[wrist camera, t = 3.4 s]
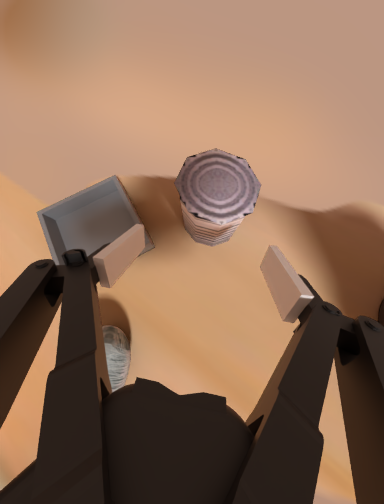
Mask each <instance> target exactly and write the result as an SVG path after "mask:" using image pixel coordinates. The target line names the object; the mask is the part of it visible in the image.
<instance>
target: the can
mask: <svg viewBox="0 0 384 504" xmlns="http://www.w3.org/2000/svg"><path fill="white" fill-rule="evenodd" d="M174 184H175V186H176V188H177V190H178V192H179V194H180V202H181V208H182V214H183V219H184V225H185V230H186V231H187V232H188V233H189V235H190V236H191V237H192V238H193V240H194V241H195V242H197V243H201V244H205V245H208V246H215V245H218V244H221V243H224V242H227V241H228V240H229V239H230V237H231V236H232V234H233V233H234V232H235V230H236V229H237V227H238V226H239V224H240V223H241V221H242V220H243V218H244V217H245V216H246V215H248V214H251V213H253V210H254V207H255V204H256V200H257V197H258V194H259V191H260V187H261V184H260V182H259V181H258V179H257V177H256V176H255V174H254V173H253V171H252V169H251V168H250V166H249V164H248V163H247V161H246V159H243V158H240V157H238V156H235V155H232V154H230V153H227V152H224V151H221V150H218V149H212V150H209V151H206V152H203V153H199V154H196V155H193V156H190V157H187V158H186V160H185V162H184V164H183V167H182V168H181V170H180V172H179V175H178V176H177V178H176V180H175V183H174Z"/></svg>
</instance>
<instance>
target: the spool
mask: <svg viewBox="0 0 384 504" xmlns="http://www.w3.org/2000/svg"><path fill="white" fill-rule="evenodd" d="M102 330H103V337H104V344H105V352H106V359H107V367H108V374H109V379H110V383H111V387H112V392H114V391H116V390H117V389H119V388H121V387H124V385H125V382H126V378H127V375H128V371H129V366H130V359H131V352H130V344H129V341H128V339H127V337H126V335H125V334H124V333H123V331H122V330H121V329H120V328H118V327H116V326H112V325H105V326H102Z"/></svg>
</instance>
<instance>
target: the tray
mask: <svg viewBox="0 0 384 504" xmlns="http://www.w3.org/2000/svg"><path fill="white" fill-rule="evenodd" d="M37 215H38V218H39V221H40V223H41V226H42V229H43V232H44V235H45V238H46V241H47V244H48V247H49V250H50V253H51V256H52V259H53V261H54V262H55V264H56V265H65V263H64V261H63V259H62V256H61V255H62V254H63V253H64V252H66V251H68V250H71V249H83V250H85V251H86V254H87V256H89V255H90V254H92V253H93V252H94V251H96V250H97V249H98V248H100V247H101V246H103V245H104V244H107V243H112V242H113V241H115V240H116V239H117V238H119V237H120V236H121V235H123V234H124V233H125V232H126V231H128V230H129V229H130V228H132V227H133V226H134V225H136V224H142V225H143V223H142V221H141V219H140V217H139V215H138V213H137V211H136V210H135V208H134V206H133V204H132V202H131V200H130V198H129V196H128V194H127V192H126V191H125V189H124V187H123V185H122V184H121V182H120V181H119V180H118V178H117V177H116V175H114V176H112V177H110V178H107V179H105V180H103V181H101V182H99V183H97V184H95V185H93V186H91V187H88V188H86V189H84V190H82V191H80V192H78V193H76V194H74V195H72V196H70V197H67V198H65V199H63V200H61V201H59V202H57V203H55V204H53V205H51V206H48V207H46V208H44V209H42V210H40V211H38V212H37ZM144 238H145V248H144V249H143V250H142V252H141V253H140V254H139V255H138V256H140V255H142V254H143V253H145V252H147V251H149V250H151V249H153V248H155V246H154V244H153V242H152V240H151V238H150V236H149V234H148V232H147V230H146V229H145V227H144ZM138 256H137V257H138Z"/></svg>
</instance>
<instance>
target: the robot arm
mask: <svg viewBox="0 0 384 504" xmlns="http://www.w3.org/2000/svg"><path fill="white" fill-rule="evenodd" d="M144 248H145V238H144V225H142V224H136V225H134V226H133V227H132V228H130V229H129V230H128V231H126V232H125V233H124V234H123V235H121V236H120V237H119V238H117V239H116V240H115V241H113V242H112V243H107V244H104V245H103V246H101V247H100V248H98V249H97V250H96V251H94V252H93V253H92V254H90V255H89V256H87V254H86V251H85V250H83V249H71V250H68V251H66V252H64V253H63V254H62V255H61V256H62V259H63V261H64V263H65V265H56V264H55V262H54V261H53V260H51V259H44V260H38V261H36V262H34V263H32V264H30V265H29V266H28V267H27V268H26V269H25V270H24V272H23V273H22V274H21V275H20V276H19V277H18V278H17V279H16V280H15V281H14V282H13V284H12V285H11V286H10V287H9V288H8V289H7V290H6V291H5V292H4V293H3V294H2V295H1V297H0V428H1V427H2V425H3V423H4V421H5V419H6V417H7V415H8V413H9V411H10V409H11V406H12V404H13V402H14V400H15V398H16V396H17V394H18V392H19V390H20V388H21V385H22V383H23V381H24V379H25V377H26V375H27V373H28V371H29V369H30V367H31V365H32V362H33V360H34V358H35V356H36V354H37V352H38V350H39V348H40V346H41V344H42V341H43V339H44V337H45V335H46V333H47V331H48V329H49V327H50V325H51V323H52V320H53V318H54V316H55V314H56V312H57V310H58V308H59V306H60V304H61V302H62V306H61V316H60V326H59V336H58V346H57V355H56V365H55V368H54V370H52V371H50V373H49V375H48V378H47V383H46V391H45V398H44V406H43V414H42V421H41V429H40V436H39V444H38V452H37V459H36V460H35V461H33V462H32V463H31V464H30V465H29V466H28V467H27V468H26V469H24V470H23V471H22V472H21V473H20V474H19V475H18V476H17V477H16V478H14V479H13V480H12V481H11V482H10V483H9V484H8V485H7V486H5V487H4V488H3V489H2V490H1V491H0V504H313V499H314V494H315V489H316V483H317V478H318V473H319V467H320V462H321V457H322V451H323V444H324V439H323V435H322V433H321V432H320V431H319V428H318V426H319V421H320V416H321V412H322V407H323V403H324V398H325V394H326V389H327V385H328V381H329V376H330V372H331V367H332V363H333V358H334V360H335V366H336V373H337V379H338V386H339V392H340V399H341V405H342V412H343V418H344V425H345V431H346V438H347V444H348V451H349V457H350V464H351V470H352V476H353V483H354V489H355V496H356V502H357V504H384V300H383V302H382V304H381V307H380V312H379V322H377V321H375V320H373V319H371V318H369V317H366V316H359V317H357V318H356V319H355V320H354V319H351V318H349V317H346V316H344V315H342V313H341V311H340V310H339V309H338V308H337V307H335V306H334V305H332V304H330V303H328V302H325V301H323V300H322V299H321V297H320V296H319V295H318V294H317V292H316V291H315V290H314V289H313V287H312V286H311V285H310V283H309V282H308V281H307V279H305V278H304V277H303V276H302V275H299V274H297V272H296V271H295V270H294V268H293V267H292V266H291V264H290V263H289V262H288V260H287V259H286V258H285V256H284V255H283V253H282V252H281V251H280V249H279V248H278V247H277V246H273V245H269V247H268V249H267V252H266V254H265V256H264V258H263V261H262V263H261V265H260V268H261V271H262V273H263V275H264V278H265V280H266V282H267V285H268V287H269V290H270V292H271V294H272V297H273V299H274V301H275V304H276V306H277V308H278V311H279V313H280V316H281V318H282V320H283V321H285V322H291V323H294V322H295V321H296V319H297V318H298V319H299V321H300V324H299V325H298V327H297V328H296V329H295V330H294V331H293V332H294V335H293V336H292V338H291V340H290V342H289V344H288V346H287V348H286V350H285V352H284V354H283V356H282V357H281V359H280V361H279V363H278V365H277V367H276V369H275V371H274V373H273V375H272V376H271V378H270V380H269V382H268V384H267V386H266V388H265V390H264V392H263V394H262V395H261V397H260V399H259V401H258V403H257V405H256V407H255V409H254V410H253V412H252V413H251V414H250V416H249V417H248V419H247V420H246V422H244V421H243V420H242V418H241V417H240V416H239V415H238V414H237V413H236V412H235V411H234V410H233V409H232V408H230V407H229V406H227V405H226V397H222V396H217V395H213V394H209V393H204V392H202V393H194V394H186V395H178V394H176V393H175V392H173V391H171V390H170V389H168V388H167V387H165V386H164V385H162V384H160V383H159V382H156V381H151V380H147V379H142V378H138V377H137V378H136V381H135V384H130V385H126V386H124V387H121V388H119V389H117V390H116V391H114V392H112V387H111V383H110V379H109V374H108V367H107V359H106V352H105V344H104V337H103V330H102V322H101V315H100V307H99V300H98V292H97V286H96V284H97V283H98V282H99V281H100V285H101V287H107V288H111V287H112V286H113V285H114V283H115V282H116V281H117V280H118V279H119V277H120V276H121V275H122V274H123V273H124V272H125V270H126V269H127V268H128V267H129V266H130V264H131V263H132V262H133V261H134V260H135V259H136V257H137V256H138V255H139V254H140V253H141V252H142V250H143V249H144Z"/></svg>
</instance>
